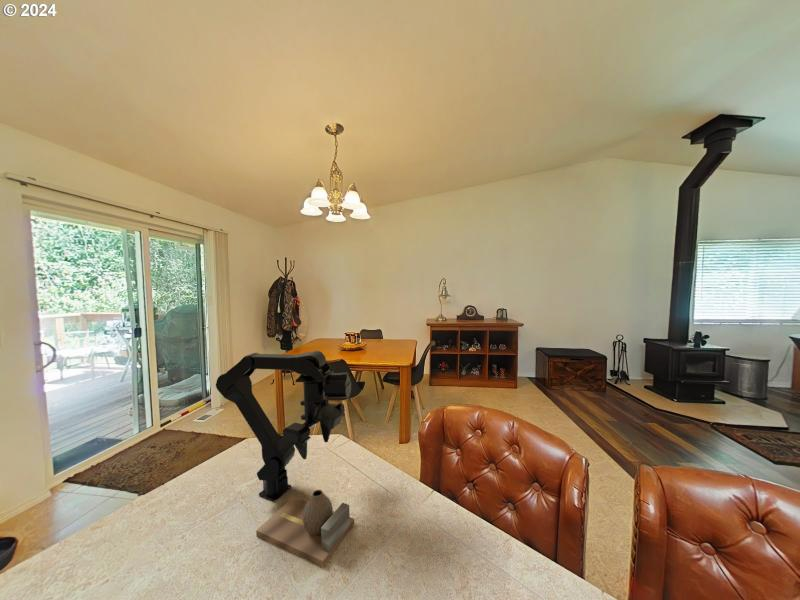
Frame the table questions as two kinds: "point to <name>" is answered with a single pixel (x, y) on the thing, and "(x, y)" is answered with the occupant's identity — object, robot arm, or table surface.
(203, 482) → the table surface
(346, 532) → the wooden board with block
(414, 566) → the table surface
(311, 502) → the vase
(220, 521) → the table surface
